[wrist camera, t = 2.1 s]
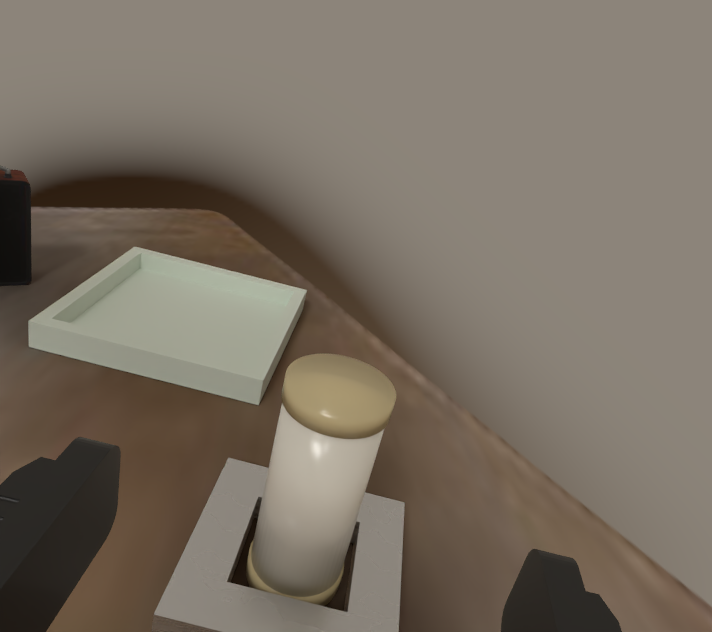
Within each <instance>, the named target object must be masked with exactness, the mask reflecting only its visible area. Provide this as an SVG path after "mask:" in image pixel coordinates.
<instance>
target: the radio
mask: <svg viewBox="0 0 712 632" xmlns="http://www.w3.org/2000/svg"><path fill="white" fill-rule="evenodd" d="M30 283H31V189H30V184H29V182H28V180H27V178H26V176H25V175H24V173H23V172H22V171H18V170H10V169H8V168H6V167H3V166H0V286H10V285H28V284H30Z"/></svg>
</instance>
